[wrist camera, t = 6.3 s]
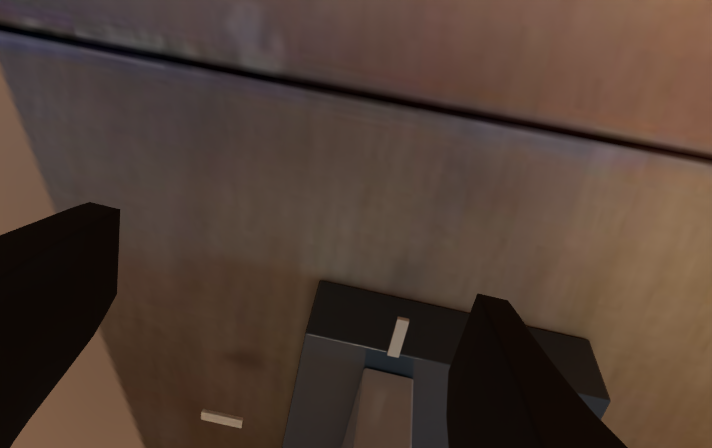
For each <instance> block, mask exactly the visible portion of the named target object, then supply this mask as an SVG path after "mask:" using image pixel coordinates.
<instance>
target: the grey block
mask: <svg viewBox="0 0 712 448" xmlns="http://www.w3.org/2000/svg"><path fill="white" fill-rule="evenodd" d="M413 384H414V382H413V379H411V378H407V377H403V376H398V375H394V374H390V373H386V372H381V371H377V370H373V369H368V368H365V369H364V370H363V373H362V377H361V380H360V384H359V387H358V391H357V394H356V398H355V401H354V405H353V408H352V411H351V415H350V418H349V422H348V425H347V429H346V432H345V436H344V439H343V443H342V446H341V448H412V422H413Z"/></svg>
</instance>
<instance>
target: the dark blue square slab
mask: <svg viewBox="0 0 712 448" xmlns="http://www.w3.org/2000/svg"><path fill="white" fill-rule="evenodd" d="M469 315H470V314H469V313H464V312H460V311H455V310H451V309H446V308H442V307H437V306H433V305H429V304H424V303H420V302H415V301H411V300H406V299H402V298H397V297H393V296H388V295H384V294H379V293H375V292H370V291H366V290H361V289H357V288H353V287H348V286H344V285H339V284H335V283H330V282H326V281H319V285H318V288H317V292H316V296H315V299H314V303H313V307H312V310H311V314H310V318H309V321H308V325H307V329H306V332H305V337H304V342H303V347H302V352H301V357H300V362H299V366H298V371H297V376H296V381H295V386H294V391H293V396H292V401H291V406H290V411H289V415H288V420H287V425H286V430H285V435H284V440H283V445H282V448H341V446H342V443H343V439H344V436H345V432H346V429H347V425H348V422H349V418H350V415H351V411H352V408H353V405H354V401H355V398H356V394H357V391H358V387H359V384H360V380H361V377H362V373H363V370H364V369H365V368H368V369H373V370H377V371H381V372H386V373H390V374H394V375H398V376H403V377H407V378H411V379H413V382H414V384H413V422H412V448H449V445H448V433H447V420H446V409H447V388H448V371H449V368H450V366H451V363H452V360H453V358H454V355H455V352H456V350H457V347H458V344H459V342H460V339H461V336H462V334H463V331H464V328H465V326H466V323H467V320H468V318H469ZM527 328H528V329H529V331H530V332H531V334H532V335H533V336H534V338H535V339H536V341H537V342H538V343H539V345H540V346H541V348H542V349H543V350H544V352H545V353H546V354H547V356H548V357H549V358H550V360H551V361H552V362H553V364H554V365H555V366H556V368H557V369H558V370H559V372H560V373H561V374H562V375H563V377H564V378H565V379H566V380H567V382H568V383H569V384H570V385H571V387H572V388H573V389H574V390H575V391H576V393H577V394H578V395H579V396H580V397H581V398H582V400H583V401H584V402H585V403H586V404H587V406H588V407H589V408H590V409H591V410H592V411H593V412H594V414H595V415H596V416H597V417H598V418H599V419H600V420H601V418H602V417H603V415H604V413H605V411H606V409H607V407H608V405H609V403H610V398H609V395H608V392H607V389H606V386H605V384H604V381H603V378H602V375H601V372H600V370H599V367H598V364H597V361H596V358H595V356H594V353H593V350H592V347H591V344H590V342H589V340H585V339H581V338H576V337H572V336H567V335H563V334H558V333H554V332H549V331H545V330H540V329H536V328H531V327H527ZM243 419H244V418H242V417H238V416H233V415H229V414H224V413H220V412H215V411H211V410H206V409H203V410H202V413H201V420H206V421H210V422H215V423H219V424H224V425H228V426H233V427H237V428H242V425H243Z"/></svg>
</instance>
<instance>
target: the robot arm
mask: <svg viewBox="0 0 712 448" xmlns="http://www.w3.org/2000/svg"><path fill="white" fill-rule="evenodd" d="M119 226H120V209H116V208H112V207H108V206H104V205H99V204H95V203H91V202H89V203H86V204H82V205H79V206H76V207H73V208H70V209H68V210H65V211H62V212H60V213H57V214H55V215H52V216H49V217H47V218H44V219H42V220H39V221H37V222H34V223H32V224H29V225H26V226H24V227H21V228H19V229H16V230H13V231H10V232H8V233H6V234H3V235H0V448H10V447H11V445H12V444H13V442H14V440H15V439H16V438H17V436H18V435H19V433H20V432H21V430H22V429H23V428H24V426H25V425H26V423H27V422H28V421H29V419H30V418H31V417H32V415H33V414H34V413H35V411H36V410H37V409H38V407H39V406H40V405H41V404H42V402H43V401H44V400H45V398H46V397H47V396H48V395H49V393H50V392H51V391H52V389H53V388H54V387H55V385H56V384H57V383H58V381H59V380H60V379H61V378H62V376H63V375H64V374H65V373H66V371H67V370H68V369H69V367H70V366H71V365H72V363H73V362H74V361H75V359H76V358H77V357H78V355H79V354H80V353H81V351H82V350H83V349H84V347H85V346H86V345H87V344H88V342H89V341H90V340H91V338H92V337H93V335H94V334H95V332H96V331H97V329H98V327H99V325H100V324H101V322H102V320H103V319H104V317H105V315H106V313H107V311H108V309H109V308H110V306H111V304H112V302H113V300H114V298H115V296H116V295H117V278H118V252H119ZM446 420H447V433H448V445H449V448H627V447H626V446H625V444H624V443H623V442H622V441H621V440H620V439H619V438H618V437H617V436H616V435H615V434H614V433H613V432H612V431H611V430H610V429H609V428H608V427H607V426H606V425H605V424H604V423H603V422H602V421H601V420H600V419H599V418H598V417H597V416H596V415H595V414H594V412H593V411H592V410H591V409H590V408H589V407H588V406H587V404H586V403H585V402H584V401H583V400H582V398H581V397H580V396H579V395H578V394H577V393H576V391H575V390H574V389H573V388H572V387H571V385H570V384H569V383H568V382H567V380H566V379H565V378H564V377H563V375H562V374H561V373H560V372H559V370H558V369H557V368H556V366H555V365H554V364H553V362H552V361H551V360H550V358H549V357H548V356H547V354H546V353H545V352H544V350H543V349H542V348H541V346H540V345H539V343H538V342H537V341H536V339H535V338H534V336H533V335H532V334H531V332H530V331H529V329H528V328H527V326H526V325H525V324H524V322H523V321H522V319H521V318H520V317H519V315H518V314H517V312H516V311H515V310H514V308H513V307H512V305H511V304H510V303H509V302H508V300H503V299H499V298H495V297H491V296H486V295H482V294H477V296H476V299H475V302H474V304H473V307H472V310H471V312H470V315H469V318H468V320H467V323H466V326H465V328H464V331H463V334H462V336H461V339H460V342H459V344H458V347H457V350H456V352H455V355H454V358H453V360H452V363H451V366H450V368H449V371H448V388H447V409H446Z"/></svg>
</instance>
